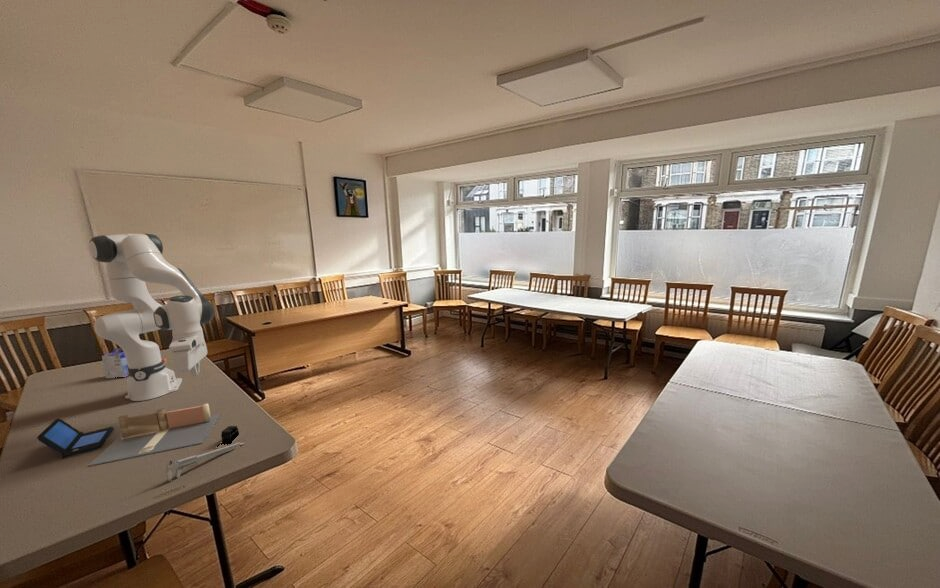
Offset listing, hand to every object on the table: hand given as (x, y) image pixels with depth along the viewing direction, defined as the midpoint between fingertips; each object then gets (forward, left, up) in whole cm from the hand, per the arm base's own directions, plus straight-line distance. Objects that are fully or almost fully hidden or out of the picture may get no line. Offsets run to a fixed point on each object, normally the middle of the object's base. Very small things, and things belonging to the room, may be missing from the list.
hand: (195, 374), depth 135 cm
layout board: (+12, -9, -17) cm, 22 cm away
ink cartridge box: (-70, -57, -17) cm, 92 cm away
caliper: (+35, +12, -18) cm, 40 cm away
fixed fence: (+6, -15, -17) cm, 24 cm away
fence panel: (+6, -2, -16) cm, 18 cm away
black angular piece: (+23, +15, -18) cm, 33 cm away
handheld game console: (+5, -34, -18) cm, 38 cm away
